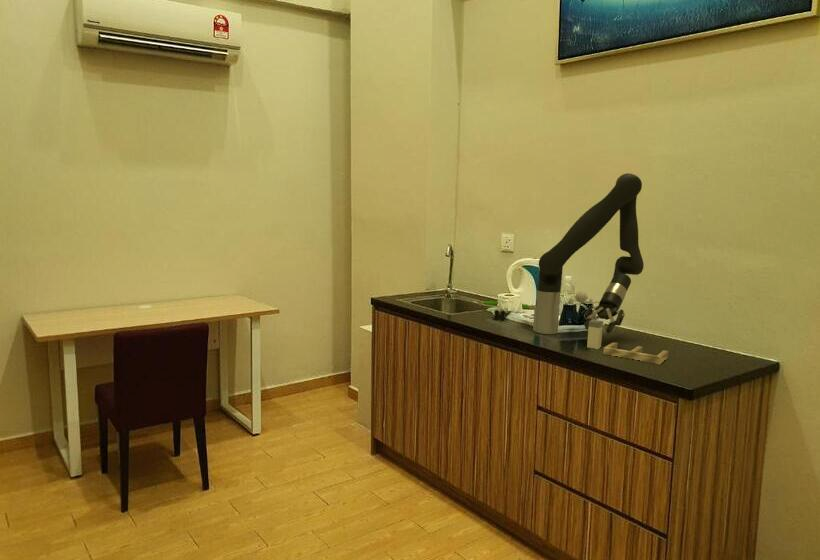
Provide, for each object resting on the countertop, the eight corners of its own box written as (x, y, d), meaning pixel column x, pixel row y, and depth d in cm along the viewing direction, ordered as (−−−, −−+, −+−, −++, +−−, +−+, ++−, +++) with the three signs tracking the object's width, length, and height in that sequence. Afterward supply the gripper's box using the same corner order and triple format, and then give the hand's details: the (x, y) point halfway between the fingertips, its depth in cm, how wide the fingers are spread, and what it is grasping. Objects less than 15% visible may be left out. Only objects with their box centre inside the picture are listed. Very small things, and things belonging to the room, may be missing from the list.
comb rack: (603, 354, 231) (603, 347, 230) (612, 348, 240) (613, 342, 240) (659, 364, 220) (660, 357, 219) (667, 357, 229) (668, 351, 229)
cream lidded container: (587, 347, 241) (589, 321, 239) (590, 345, 244) (592, 319, 242) (597, 349, 238) (599, 322, 237) (600, 347, 242) (603, 321, 240)
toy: (590, 323, 285) (593, 290, 283) (593, 327, 278) (596, 292, 276) (564, 322, 286) (567, 289, 284) (566, 325, 279) (569, 291, 277)
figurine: (531, 324, 281) (537, 311, 310) (532, 311, 280) (537, 299, 309) (467, 319, 288) (478, 307, 317) (468, 305, 287) (479, 294, 316)
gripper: (593, 288, 250) (576, 321, 243) (628, 293, 240) (611, 327, 234) (599, 300, 254) (582, 332, 248) (633, 306, 245) (617, 339, 238)
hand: (596, 330), depth 241 cm, fingers open, 8 cm apart
